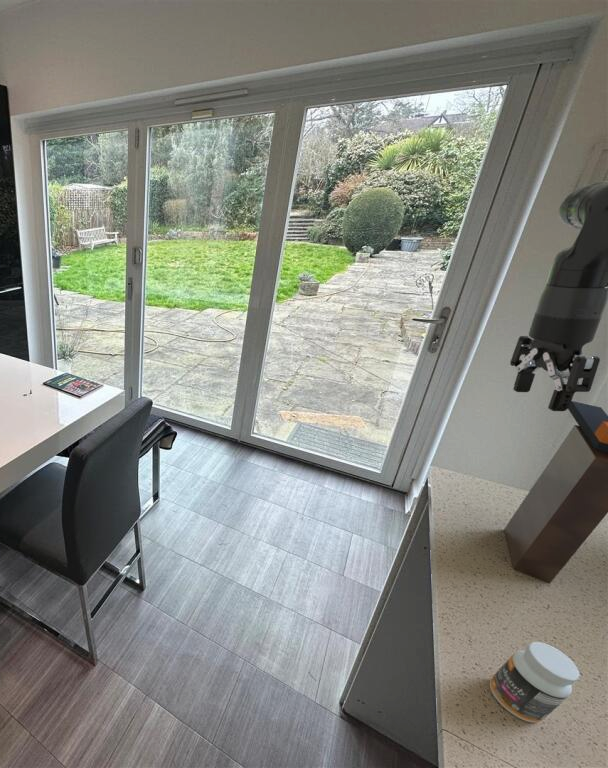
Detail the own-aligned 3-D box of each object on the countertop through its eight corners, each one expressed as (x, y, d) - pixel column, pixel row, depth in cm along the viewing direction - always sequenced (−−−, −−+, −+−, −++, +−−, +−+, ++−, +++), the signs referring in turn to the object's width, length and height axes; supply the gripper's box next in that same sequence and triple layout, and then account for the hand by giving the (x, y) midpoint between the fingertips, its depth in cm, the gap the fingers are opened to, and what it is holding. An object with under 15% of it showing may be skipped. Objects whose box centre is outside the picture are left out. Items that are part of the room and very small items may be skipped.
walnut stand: (536, 540, 82) (615, 434, 70) (550, 583, 74) (643, 470, 62) (503, 529, 85) (574, 424, 73) (513, 569, 76) (595, 457, 64)
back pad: (596, 414, 76) (609, 395, 75) (630, 459, 64) (647, 438, 62) (566, 407, 78) (578, 389, 77) (594, 449, 66) (609, 429, 64)
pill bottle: (478, 674, 60) (511, 633, 55) (521, 681, 59) (559, 640, 54) (507, 720, 55) (547, 680, 50) (554, 728, 54) (599, 688, 49)
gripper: (638, 321, 61) (598, 418, 67) (561, 303, 74) (533, 386, 80) (576, 322, 63) (542, 417, 69) (511, 304, 76) (487, 385, 81)
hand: (537, 400), depth 74 cm, fingers open, 8 cm apart
